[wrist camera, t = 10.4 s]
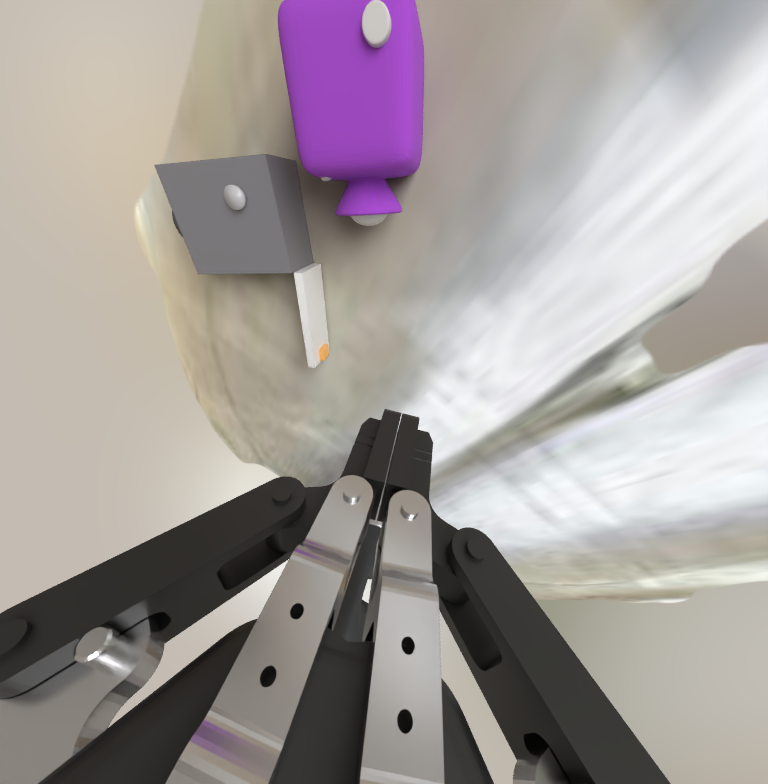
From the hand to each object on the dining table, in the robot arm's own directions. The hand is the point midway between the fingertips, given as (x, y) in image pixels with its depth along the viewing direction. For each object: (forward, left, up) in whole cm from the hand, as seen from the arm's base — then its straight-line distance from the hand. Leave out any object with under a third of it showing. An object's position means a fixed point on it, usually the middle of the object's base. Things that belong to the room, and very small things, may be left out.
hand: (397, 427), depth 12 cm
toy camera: (+13, +6, -27) cm, 31 cm away
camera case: (+7, +21, -27) cm, 35 cm away
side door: (-4, +15, -27) cm, 31 cm away
